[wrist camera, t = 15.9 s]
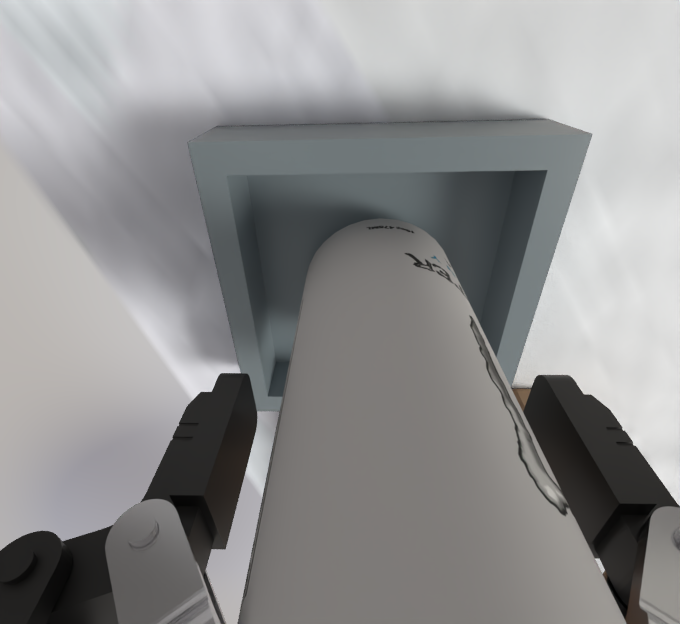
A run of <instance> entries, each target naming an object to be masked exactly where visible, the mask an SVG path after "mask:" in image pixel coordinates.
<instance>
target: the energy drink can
mask: <svg viewBox="0 0 680 624" xmlns="http://www.w3.org/2000/svg"><path fill="white" fill-rule="evenodd" d="M238 624H627V623H626V621H625V619H624V617H623V615H622V613H621V611H620V609H619V607H618V605H617V603H616V601H615V599H614V597H613V595H612V593H611V591H610V589H609V587H608V584H607V582H606V580H605V578H604V576H603V574H602V572H601V570H600V568H599V566H598V564H597V562H596V560H595V558H594V556H593V554H592V552H591V550H590V548H589V546H588V544H587V542H586V540H585V538H584V536H583V534H582V531H581V529H580V527H579V525H578V523H577V521H576V519H575V517H574V515H573V513H572V511H571V509H570V507H569V505H568V503H567V501H566V499H565V497H564V495H563V493H562V491H561V489H560V487H559V485H558V483H557V480H556V478H555V476H554V474H553V472H552V470H551V468H550V466H549V464H548V462H547V460H546V458H545V456H544V454H543V452H542V450H541V448H540V446H539V444H538V442H537V440H536V438H535V436H534V434H533V432H532V430H531V427H530V425H529V423H528V421H527V419H526V417H525V415H524V413H523V411H522V409H521V407H520V405H519V403H518V401H517V399H516V397H515V395H514V393H513V391H512V389H511V387H510V385H509V383H508V381H507V379H506V376H505V374H504V372H503V370H502V368H501V366H500V364H499V362H498V360H497V358H496V356H495V354H494V352H493V350H492V348H491V346H490V344H489V342H488V340H487V338H486V336H485V334H484V332H483V330H482V328H481V326H480V323H479V321H478V319H477V317H476V315H475V313H474V311H473V309H472V307H471V305H470V303H469V301H468V299H467V297H466V295H465V293H464V291H463V289H462V287H461V285H460V283H459V281H458V279H457V277H456V275H455V272H454V270H453V268H452V266H451V264H450V262H449V260H448V258H447V256H446V254H445V252H444V250H443V249H442V248H441V246H440V245H439V244H438V242H437V241H436V240H435V239H434V238H433V237H432V236H430V235H429V234H428V233H427V232H425V231H424V230H422V229H420V228H418V227H416V226H414V225H413V224H410V223H407V222H403V221H399V220H395V219H382V218H379V219H371V220H364V221H360V222H357V223H354V224H351V225H348V226H346V227H345V228H343V229H341V230H339V231H337V232H335V233H334V234H333V235H332V236H331V237H329V238H328V239H327V240H326V241H324V243H323V244H322V245H321V246H320V248H319V249H318V250H317V251H316V253H315V255H314V257H313V259H312V261H311V263H310V265H309V268H308V272H307V276H306V281H305V286H304V291H303V296H302V301H301V306H300V311H299V316H298V322H297V327H296V332H295V337H294V342H293V347H292V352H291V357H290V362H289V367H288V372H287V377H286V382H285V387H284V392H283V397H282V402H281V407H280V412H279V417H278V422H277V427H276V432H275V437H274V443H273V448H272V453H271V458H270V463H269V468H268V473H267V478H266V483H265V488H264V493H263V498H262V503H261V508H260V513H259V518H258V524H257V529H256V533H255V539H254V544H253V548H252V553H251V558H250V563H249V569H248V574H247V579H246V584H245V589H244V594H243V599H242V604H241V609H240V615H239V619H238Z"/></svg>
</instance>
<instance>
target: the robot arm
mask: <svg viewBox="0 0 680 624" xmlns="http://www.w3.org/2000/svg"><path fill="white" fill-rule="evenodd" d="M523 413H524V415H525V417H526V419H527V421H528V423H529V425H530V427H531V430H532V432H533V434H534V436H535V438H536V440H537V442H538V444H539V446H540V448H541V450H542V452H543V454H544V456H545V458H546V460H547V462H548V464H549V466H550V468H551V470H552V472H553V474H554V476H555V478H556V480H557V483H558V485H559V487H560V489H561V491H562V493H563V495H564V497H565V499H566V501H567V503H568V505H569V507H570V509H571V511H572V513H573V515H574V517H575V519H576V521H577V523H578V525H579V527H580V529H581V531H582V534H583V536H584V538H585V540H586V542H587V544H588V546H589V548H590V550H591V552H592V554H593V556H594V558H600V560H601V562H602V564H603V566H604V568H605V571H604V573H603V576H604V578H605V580H606V582H607V584H608V587H609V589H610V591H611V593H612V595H613V597H614V599H615V601H616V603H617V605H618V607H619V609H620V611H621V613H622V615H623V617H624V619H625V621H626V623H627V624H680V506H679V505H678V504H677V503H676V501H675V500H674V499H673V497H672V496H671V494H670V493H669V492H668V490H667V489H666V487H665V486H664V485H663V483H662V482H661V480H660V479H659V478H658V476H657V475H656V473H655V472H654V471H653V469H652V468H651V467H650V465H649V464H648V462H647V461H646V460H645V458H644V457H643V455H642V454H641V453H640V451H639V450H638V448H637V447H636V446H634V445H633V441H632V440H631V439H630V437H629V436H628V434H627V433H626V432H625V431H623V430H622V426H621V425H620V423H619V422H618V421H617V419H616V418H615V416H614V415H613V414H612V412H611V411H610V410H609V409H608V408H607V407H606V406H604V405H603V404H602V403H601V402H599V401H598V400H597V399H596V398H595V397H593V396H592V395H584V394H583V393H582V391H581V390H580V388H579V387H578V385H577V384H576V382H575V381H574V380H573V378H572V377H570V376H568V375H538V376H537V377H536V378H535V380H534V383H533V386H532V388H531V391H530V394H529V397H528V399H527V402H526V405H525V408H524V410H523ZM256 427H257V409H256V404H255V399H254V395H253V390H252V385H251V381H250V377H249V375H248V374H247V373H222V374H220V375H219V376H218V378H217V381H216V383H215V386H214V388H213V390H212V392H201V393H200V394H199V395H198V396H197V397H196V398H195V399H194V400H193V401H192V402H191V403H190V404H189V405H188V406H187V407H186V410H185V412H184V414H183V416H182V418H181V420H180V422H179V426H178V427H177V429H176V431H175V433H174V435H173V440H172V441H170V444H169V446H168V448H167V450H166V452H165V454H164V456H163V459H162V461H161V463H160V465H159V467H158V469H157V471H156V473H155V476H154V478H153V480H152V482H151V484H150V486H149V489H148V491H147V493H146V494H145V496H144V498H143V499H142V501H141V502H140V503H138V504H136V505H134V506H133V507H131V508H130V509H128V510H127V511H126V512H125V513H123V514H122V515H121V516H120V517H119V518H118V520H117V521H116V522H115V523H114V525H112V526H110V527H107V528H104V529H102V530H98V531H95V532H92V533H88V534H85V535H82V536H79V537H76V538H72V539H69V540H66V541H61V540H60V538H58V536H57V535H56V534H54V533H52V532H49V531H37V532H33V533H30V534H27V535H24V536H22V537H20V538H18V539H16V540H15V541H13V542H11V543H10V544H8V545H7V546H6V547H5V548H3V549H2V550H1V551H0V624H226V621H225V619H224V616H223V614H222V611H221V608H220V605H219V603H218V600H217V597H216V595H215V593H214V590H213V587H212V584H211V582H210V579H209V577H208V574H207V571H206V566H207V563H208V559H209V556H210V552H211V549H226V545H227V541H228V537H229V533H230V529H231V526H232V522H233V518H234V514H235V510H236V506H237V502H238V498H239V494H240V491H241V487H242V483H243V479H244V475H245V471H246V467H247V463H248V459H249V456H250V452H251V448H252V444H253V440H254V436H255V432H256Z"/></svg>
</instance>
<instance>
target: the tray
mask: <svg viewBox="0 0 680 624" xmlns="http://www.w3.org/2000/svg"><path fill="white" fill-rule="evenodd" d="M591 137H592V134H591V133H588V132H585V131H582V130H579V129H576V128H573V127H570V126H567V125H565V124H562V123H559V122H556V121H553V120H550V119H530V120H485V121H439V122H393V123H347V124H301V125H255V126H216V127H215V128H213V129H211V130H209V131H207V132H205V133H203V134H202V135H200V136H198V137H196V138H194V139H192V140H191V141H189V142H187V143H188V147H189V151H190V156H191V160H192V164H193V169H194V173H195V177H196V182H197V186H198V190H199V195H200V199H201V203H202V208H203V212H204V216H205V221H206V225H207V229H208V233H209V238H210V242H211V246H212V251H213V255H214V259H215V264H216V268H217V272H218V277H219V281H220V285H221V290H222V294H223V298H224V303H225V307H226V311H227V316H228V320H229V324H230V328H231V333H232V337H233V341H234V346H235V350H236V354H237V359H238V363H239V367H240V372H241V373H247V374H248V375H249V377H250V381H251V385H252V390H253V395H254V399H255V404H256V409H257V411H280V407H281V402H282V397H283V392H284V387H285V382H286V377H287V372H288V367H289V362H290V357H291V352H292V347H293V342H294V337H295V332H296V327H297V322H298V316H299V311H300V306H301V301H302V296H303V291H304V286H305V281H306V276H307V272H308V268H309V265H310V263H311V261H312V259H313V257H314V255H315V253H316V251H317V250H318V249H319V248H320V246H321V245H322V244H323V243H324V241H326V240H327V239H328V238H329V237H331V236H332V235H333V234H334V233H335V232H337V231H339V230H341V229H343V228H345V227H346V226H348V225H351V224H354V223H357V222H360V221H364V220H371V219H379V218H382V219H395V220H399V221H403V222H407V223H410V224H413V225H414V226H416V227H418V228H420V229H422V230H424V231H425V232H427V233H428V234H429V235H430V236H432V237H433V238H434V239H435V240H436V241H437V242H438V244H439V245H440V246H441V248H442V249H443V250H444V252H445V254H446V256H447V258H448V260H449V262H450V264H451V266H452V268H453V270H454V272H455V275H456V277H457V279H458V281H459V283H460V285H461V287H462V289H463V291H464V293H465V295H466V297H467V299H468V301H469V303H470V305H471V307H472V309H473V311H474V313H475V315H476V317H477V319H478V321H479V323H480V326H481V328H482V330H483V332H484V334H485V336H486V338H487V340H488V342H489V344H490V346H491V348H492V350H493V352H494V354H495V356H496V358H497V360H498V362H499V364H500V366H501V368H502V370H503V372H504V374H505V376H506V379H507V381H508V383H509V385H510V387H511V386H512V383H513V380H514V377H515V374H516V370H517V367H518V364H519V361H520V358H521V355H522V352H523V349H524V346H525V342H526V339H527V336H528V333H529V330H530V327H531V324H532V321H533V318H534V314H535V311H536V308H537V305H538V302H539V299H540V296H541V293H542V289H543V286H544V283H545V280H546V277H547V274H548V271H549V268H550V265H551V261H552V258H553V255H554V252H555V249H556V246H557V243H558V240H559V237H560V233H561V230H562V227H563V224H564V221H565V218H566V215H567V212H568V209H569V205H570V202H571V199H572V196H573V193H574V190H575V187H576V184H577V180H578V177H579V174H580V171H581V168H582V165H583V162H584V159H585V156H586V152H587V149H588V146H589V143H590V140H591Z"/></svg>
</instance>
